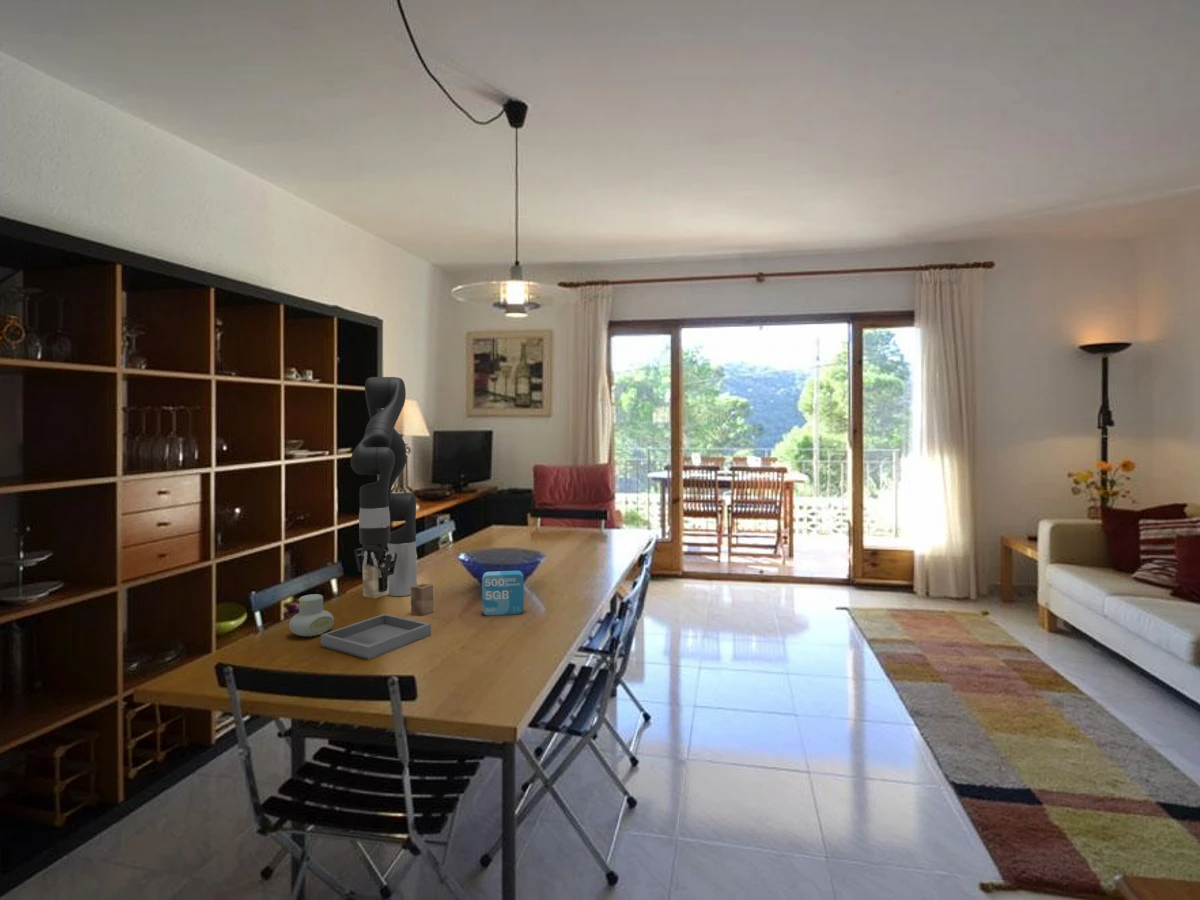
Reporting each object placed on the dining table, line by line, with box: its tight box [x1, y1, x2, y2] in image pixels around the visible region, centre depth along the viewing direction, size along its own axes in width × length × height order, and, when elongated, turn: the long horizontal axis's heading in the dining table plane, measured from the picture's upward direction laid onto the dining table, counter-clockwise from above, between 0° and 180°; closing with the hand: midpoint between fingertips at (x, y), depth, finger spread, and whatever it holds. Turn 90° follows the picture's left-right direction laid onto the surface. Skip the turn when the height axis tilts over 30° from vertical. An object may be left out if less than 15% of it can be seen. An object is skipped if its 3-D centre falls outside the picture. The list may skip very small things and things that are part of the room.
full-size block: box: [410, 583, 434, 616], centre depth 187 cm, size 4×4×8 cm
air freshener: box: [288, 593, 335, 638], centre depth 169 cm, size 11×8×10 cm
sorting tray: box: [320, 613, 432, 661], centre depth 163 cm, size 18×20×3 cm
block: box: [362, 563, 389, 599], centre depth 162 cm, size 4×4×8 cm
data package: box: [481, 570, 525, 617], centre depth 186 cm, size 12×4×12 cm, turn 98°
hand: (376, 589), depth 163 cm, fingers closed on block, 4 cm apart
